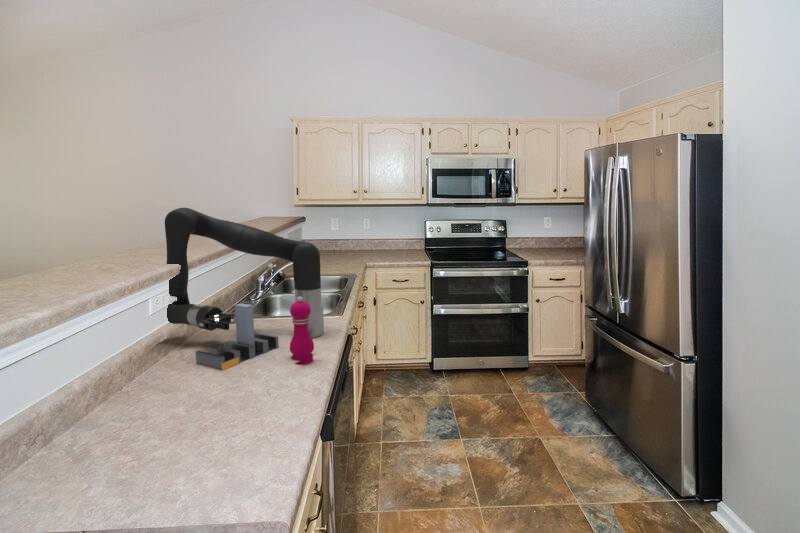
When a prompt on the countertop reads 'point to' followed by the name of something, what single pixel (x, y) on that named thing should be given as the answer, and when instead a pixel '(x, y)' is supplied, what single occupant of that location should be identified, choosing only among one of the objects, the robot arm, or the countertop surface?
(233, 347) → the rack
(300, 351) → the pepper mill
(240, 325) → the panel
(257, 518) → the countertop surface
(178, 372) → the countertop surface
